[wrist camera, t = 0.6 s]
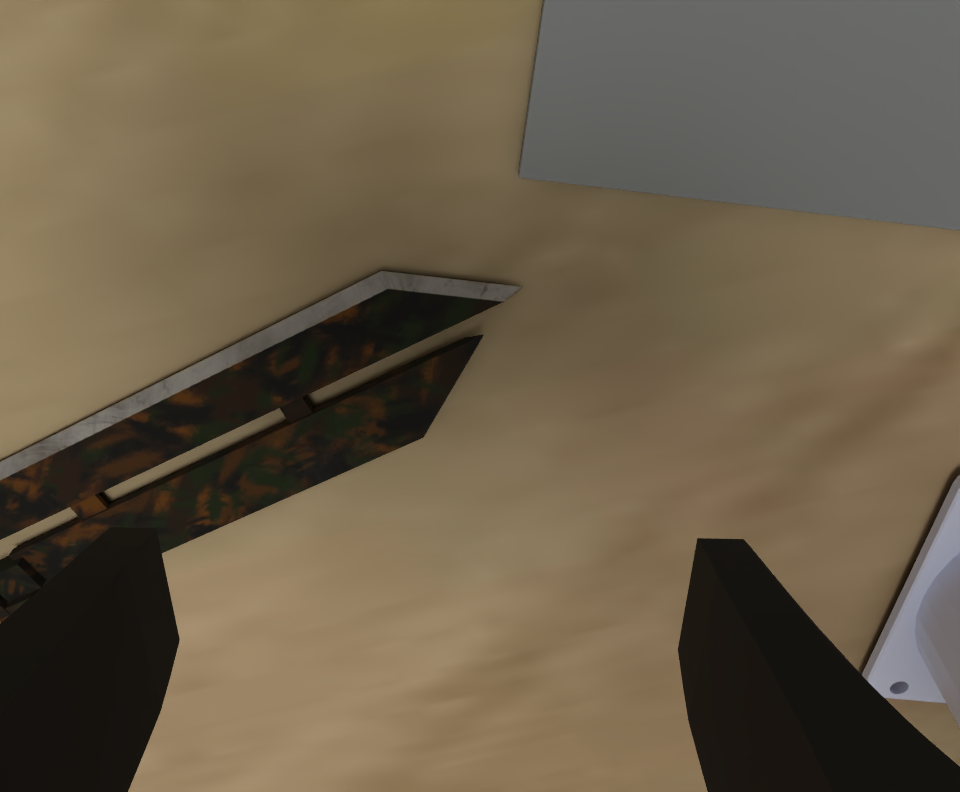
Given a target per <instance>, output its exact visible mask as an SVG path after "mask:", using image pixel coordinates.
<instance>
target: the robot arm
mask: <svg viewBox="0 0 960 792" xmlns="http://www.w3.org/2000/svg"><path fill="white" fill-rule="evenodd" d="M178 644H179V635H178V630H177V625H176V620H175V616H174V611H173V606H172V601H171V597H170V592H169V587H168V582H167V577H166V573H165V568H164V563H163V558H162V554H161V549H160V544H159V539H158V535H157V530H156V528H126V527H110V528H109V529H108V530H107V531H106V532H104V533H103V534H102V535H101V536H100V537H98V538H97V539H96V540H95V541H94V542H93V543H92V544H90V545H89V546H88V547H87V548H86V549H85V550H84V551H82V552H81V553H80V554H79V555H78V556H77V557H76V558H75V559H73V560H72V561H71V562H70V563H69V564H68V565H67V566H66V567H65V568H63V569H62V570H61V571H60V572H59V573H58V574H57V575H56V576H54V577H53V578H52V579H51V580H50V581H49V582H48V583H47V584H45V585H44V586H43V587H42V588H41V589H40V590H39V591H37V592H36V593H35V594H34V595H33V596H32V597H30V598H29V599H28V600H27V601H26V602H25V603H24V604H22V605H21V606H20V607H19V608H18V609H17V610H15V611H14V612H13V613H12V614H11V615H10V616H8V617H7V618H6V619H5V620H4V621H3V622H1V623H0V792H128V790H129V788H130V785H131V783H132V780H133V778H134V775H135V773H136V771H137V768H138V766H139V763H140V761H141V758H142V756H143V753H144V751H145V749H146V746H147V744H148V741H149V739H150V736H151V734H152V731H153V729H154V726H155V724H156V721H157V719H158V716H159V714H160V711H161V708H162V704H163V701H164V697H165V694H166V690H167V687H168V683H169V679H170V676H171V672H172V668H173V664H174V660H175V656H176V652H177V648H178ZM678 653H679V660H680V667H681V674H682V682H683V689H684V695H685V701H686V708H687V714H688V720H689V724H690V728H691V732H692V736H693V739H694V743H695V747H696V750H697V754H698V758H699V761H700V765H701V769H702V773H703V776H704V780H705V783H706V787H707V791H708V792H960V767H959V766H958V765H957V764H956V763H955V762H954V761H952V760H951V759H950V758H949V757H948V756H947V755H945V754H944V753H943V752H942V751H941V750H940V749H938V748H937V747H936V746H935V745H934V744H933V743H932V742H930V741H929V740H928V739H927V738H926V737H925V736H924V735H922V734H921V733H920V732H919V731H918V730H917V729H916V728H915V727H914V726H913V725H912V724H911V723H909V722H908V721H907V720H906V719H905V718H904V717H903V716H902V715H901V714H900V713H899V712H898V711H897V710H896V709H895V708H894V707H893V706H892V705H891V704H890V703H889V702H888V701H887V700H886V699H885V698H893V699H904V700H915V701H927V702H938V703H946V704H947V706H948V707H949V709H950V711H951V713H952V715H953V717H954V719H955V721H956V722H957V724H958V726H959V728H960V475H959V476H958V477H957V478H956V479H955V481H954V482H953V484H952V486H951V488H950V490H949V492H948V494H947V496H946V498H945V501H944V503H943V505H942V507H941V509H940V511H939V513H938V515H937V517H936V520H935V522H934V524H933V526H932V528H931V530H930V532H929V534H928V536H927V538H926V541H925V543H924V545H923V547H922V549H921V551H920V553H919V555H918V557H917V560H916V562H915V564H914V566H913V568H912V570H911V572H910V574H909V576H908V578H907V581H906V583H905V585H904V587H903V589H902V591H901V593H900V595H899V597H898V600H897V602H896V604H895V606H894V608H893V610H892V612H891V614H890V616H889V618H888V621H887V623H886V625H885V627H884V629H883V631H882V633H881V635H880V637H879V640H878V642H877V644H876V646H875V648H874V650H873V652H872V654H871V656H870V658H869V661H868V663H867V665H866V667H865V669H864V671H863V673H862V675H861V674H860V673H859V672H858V671H857V670H856V669H855V667H854V666H853V665H852V664H851V663H850V662H849V661H848V660H847V659H846V658H845V657H844V655H843V654H842V653H841V652H840V651H839V650H838V649H837V648H836V647H835V646H834V644H833V643H832V642H831V641H830V640H829V639H828V638H827V637H826V636H825V635H824V633H823V632H822V631H821V630H820V629H819V628H818V627H817V626H816V624H815V623H814V622H813V621H812V620H811V619H810V618H809V616H808V615H807V614H806V613H805V612H804V611H803V609H802V608H801V607H800V606H799V605H798V604H797V602H796V601H795V600H794V599H793V598H792V596H791V595H790V594H789V593H788V592H787V591H786V589H785V588H784V587H783V586H782V585H781V583H780V582H779V581H778V580H777V578H776V577H775V576H774V575H773V574H772V572H771V571H770V570H769V569H768V568H767V566H766V565H765V564H764V563H763V561H762V560H761V559H760V558H759V557H758V555H757V554H756V553H755V552H754V551H753V549H752V548H751V547H750V546H749V545H748V544H747V543H746V542H745V540H744V539H703V538H697V544H696V550H695V555H694V561H693V567H692V572H691V578H690V584H689V590H688V595H687V601H686V607H685V612H684V618H683V624H682V630H681V635H680V641H679V647H678ZM896 682H897V683H896Z"/></svg>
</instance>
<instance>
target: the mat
mask: <svg viewBox="0 0 960 792" xmlns="http://www.w3.org/2000/svg"><path fill="white" fill-rule="evenodd" d="M518 172H519V178H526V179H534V180H543V181H551V182H559V183H568V184H576V185H584V186H593V187H601V188H609V189H618V190H626V191H634V192H643V193H651V194H659V195H668V196H676V197H684V198H693V199H701V200H709V201H718V202H726V203H734V204H743V205H751V206H759V207H768V208H776V209H785V210H793V211H801V212H810V213H818V214H826V215H835V216H843V217H851V218H860V219H868V220H876V221H885V222H893V223H901V224H910V225H918V226H926V227H935V228H943V229H951V230H960V0H543V5H542V12H541V19H540V26H539V33H538V39H537V46H536V53H535V60H534V67H533V74H532V81H531V88H530V95H529V102H528V109H527V116H526V123H525V130H524V137H523V144H522V151H521V158H520V165H519V171H518Z"/></svg>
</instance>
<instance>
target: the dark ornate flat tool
mask: <svg viewBox="0 0 960 792" xmlns="http://www.w3.org/2000/svg"><path fill="white" fill-rule="evenodd" d="M521 288H522V287H520V286H511V285H503V284H494V283H485V282H476V281H467V280H458V279H449V278H440V277H432V276H423V275H414V274H405V273H396V272H387V271H380V272H378V273H376V274H374V275H372V276H370V277H368V278H366V279H364V280H362V281H360V282H358V283H356V284H354V285H352V286H350V287H348V288H346V289H344V290H342V291H340V292H338V293H336V294H334V295H332V296H330V297H328V298H326V299H324V300H322V301H320V302H318V303H316V304H314V305H312V306H310V307H308V308H306V309H304V310H302V311H300V312H298V313H296V314H294V315H292V316H290V317H288V318H286V319H284V320H282V321H280V322H278V323H276V324H274V325H272V326H270V327H268V328H266V329H264V330H262V331H260V332H258V333H256V334H254V335H252V336H250V337H248V338H246V339H244V340H242V341H240V342H238V343H236V344H234V345H232V346H230V347H228V348H226V349H224V350H222V351H220V352H218V353H216V354H214V355H212V356H210V357H208V358H206V359H204V360H202V361H200V362H198V363H196V364H194V365H192V366H190V367H188V368H186V369H184V370H182V371H180V372H178V373H176V374H174V375H172V376H170V377H168V378H166V379H164V380H162V381H160V382H158V383H156V384H154V385H152V386H150V387H148V388H146V389H144V390H142V391H140V392H138V393H136V394H134V395H132V396H130V397H128V398H126V399H124V400H122V401H120V402H118V403H116V404H114V405H112V406H110V407H108V408H106V409H104V410H102V411H100V412H98V413H96V414H94V415H93V416H91V417H89V418H87V419H85V420H83V421H81V422H79V423H77V424H75V425H73V426H71V427H69V428H67V429H65V430H63V431H61V432H59V433H57V434H55V435H53V436H51V437H49V438H47V439H45V440H43V441H41V442H39V443H37V444H35V445H33V446H31V447H29V448H27V449H25V450H23V451H21V452H19V453H17V454H15V455H13V456H11V457H9V458H7V459H5V460H3V461H1V462H0V540H1V539H3V538H5V537H7V536H9V535H11V534H14V533H16V532H18V531H20V530H22V529H24V528H26V527H28V526H30V525H33V524H35V523H37V522H39V521H41V520H43V519H45V518H47V517H49V516H52V515H54V514H56V513H58V512H60V511H62V510H64V509H66V508H68V507H71V509H72V510H73V511H74V512H75V513H76V514H77V515H78V516H79V517H80V518H78V519H76V520H74V521H72V522H70V523H67V524H65V525H63V526H61V527H59V528H57V529H55V530H52V531H50V532H48V533H46V534H44V535H42V536H40V537H38V538H35V539H33V540H31V541H29V542H27V543H25V544H23V545H20V546H18V547H16V548H14V549H13V550H12V552H11V553H10V555H9V556H7V557H5V558H3V559H1V560H0V622H3V621H4V620H5V619H6V618H7V617H8V616H10V615H11V614H12V613H13V612H14V611H15V610H17V609H18V608H19V607H20V606H21V605H22V604H24V603H25V602H26V601H27V600H28V599H29V598H30V597H32V596H33V595H34V594H35V593H36V592H37V591H39V590H40V589H41V588H42V587H43V586H44V585H45V584H47V583H48V582H49V581H50V580H51V579H52V578H53V577H54V576H56V575H57V574H58V573H59V572H60V571H61V570H62V569H63V568H65V567H66V566H67V565H68V564H69V563H70V562H71V561H72V560H73V559H75V558H76V557H77V556H78V555H79V554H80V553H81V552H82V551H84V550H85V549H86V548H87V547H88V546H89V545H90V544H92V543H93V542H94V541H95V540H96V539H97V538H98V537H100V536H101V535H102V534H103V533H104V532H106V531H107V530H108V529H109V528H110V527H126V528H156V530H157V535H158V539H159V544H160V549H161V553H163V552H166V551H168V550H170V549H172V548H175V547H177V546H179V545H181V544H184V543H186V542H188V541H190V540H193V539H195V538H197V537H200V536H202V535H204V534H206V533H209V532H211V531H213V530H215V529H218V528H220V527H222V526H224V525H227V524H229V523H231V522H233V521H236V520H238V519H240V518H242V517H245V516H247V515H249V514H251V513H254V512H256V511H258V510H261V509H263V508H265V507H267V506H270V505H272V504H274V503H276V502H279V501H281V500H283V499H285V498H288V497H290V496H292V495H294V494H297V493H299V492H301V491H303V490H306V489H308V488H310V487H312V486H315V485H317V484H319V483H321V482H324V481H326V480H328V479H331V478H333V477H335V476H337V475H340V474H342V473H344V472H346V471H349V470H351V469H353V468H355V467H358V466H360V465H362V464H364V463H367V462H369V461H371V460H373V459H376V458H378V457H380V456H382V455H385V454H387V453H389V452H391V451H394V450H396V449H398V448H401V447H403V446H405V445H407V444H410V443H412V442H414V441H416V440H419V439H421V438H423V437H424V435H425V434H426V432H427V430H428V429H429V427H430V425H431V424H432V422H433V420H434V419H435V417H436V415H437V413H438V412H439V410H440V408H441V407H442V405H443V403H444V402H445V400H446V398H447V396H448V395H449V393H450V391H451V390H452V388H453V386H454V385H455V383H456V381H457V380H458V378H459V376H460V374H461V373H462V371H463V369H464V368H465V366H466V364H467V363H468V361H469V359H470V357H471V356H472V354H473V352H474V351H475V349H476V347H477V346H478V344H479V342H480V341H481V339H482V337H483V335H478V336H472V337H465V338H463V339H461V340H459V341H457V342H455V343H452V344H450V345H448V346H446V347H444V348H442V349H440V350H437V351H435V352H433V353H431V354H429V355H427V356H425V357H422V358H420V359H418V360H416V361H414V362H412V363H410V364H407V365H405V366H403V367H401V368H399V369H397V370H395V371H392V372H390V373H388V374H386V375H384V376H382V377H380V378H378V379H375V380H373V381H371V382H369V383H367V384H365V385H363V386H360V387H358V388H356V389H354V390H352V391H350V392H348V393H345V394H343V395H341V396H339V397H337V398H335V399H333V400H330V401H328V402H326V403H324V404H322V405H320V406H318V407H316V408H313V409H312V407H311V406H310V404H309V403H308V401H307V400H306V398H305V397H304V396H305V395H307V394H309V393H312V392H314V391H316V390H318V389H320V388H322V387H324V386H326V385H329V384H331V383H333V382H335V381H337V380H339V379H341V378H343V377H345V376H348V375H350V374H352V373H354V372H356V371H358V370H360V369H362V368H364V367H367V366H369V365H371V364H373V363H375V362H377V361H379V360H381V359H383V358H386V357H388V356H390V355H392V354H394V353H396V352H398V351H400V350H402V349H405V348H407V347H409V346H411V345H413V344H415V343H417V342H419V341H422V340H424V339H426V338H428V337H430V336H432V335H434V334H436V333H438V332H441V331H443V330H445V329H447V328H449V327H451V326H453V325H455V324H457V323H460V322H462V321H464V320H466V319H468V318H470V317H472V316H474V315H476V314H479V313H481V312H483V311H485V310H487V309H489V308H491V307H493V306H496V305H498V304H500V303H502V302H504V301H505V300H506V299H508V298H509V297H510V296H512V295H513V294H514V293H516V292H517V291H518V290H519V289H521ZM278 408H280V409H281V411H282V412H283V414H284V415H285V416H286V418H287V419H288V421H286V422H283V423H281V424H279V425H277V426H275V427H273V428H271V429H268V430H266V431H264V432H262V433H260V434H258V435H256V436H254V437H251V438H249V439H247V440H245V441H243V442H241V443H239V444H236V445H234V446H232V447H230V448H228V449H226V450H224V451H221V452H219V453H217V454H215V455H213V456H211V457H209V458H206V459H204V460H202V461H200V462H198V463H196V464H194V465H191V466H189V467H187V468H185V469H183V470H181V471H179V472H177V473H174V474H172V475H170V476H168V477H166V478H164V479H162V480H159V481H157V482H155V483H153V484H151V485H149V486H147V487H144V488H142V489H140V490H138V491H136V492H134V493H132V494H129V495H127V496H125V497H123V498H121V499H119V500H117V501H115V502H112V503H110V504H107V503H106V502H105V500H104V499H103V498H102V497H101V496H100V495H99V494H98V493H100V492H102V491H104V490H107V489H109V488H111V487H113V486H115V485H117V484H119V483H121V482H123V481H126V480H128V479H130V478H132V477H134V476H136V475H138V474H140V473H142V472H145V471H147V470H149V469H151V468H153V467H155V466H157V465H159V464H161V463H164V462H166V461H168V460H170V459H172V458H174V457H176V456H178V455H181V454H183V453H185V452H187V451H189V450H191V449H193V448H195V447H197V446H200V445H202V444H204V443H206V442H208V441H210V440H212V439H214V438H216V437H219V436H221V435H223V434H225V433H227V432H229V431H231V430H233V429H235V428H238V427H240V426H242V425H244V424H246V423H248V422H250V421H252V420H255V419H257V418H259V417H261V416H263V415H265V414H267V413H269V412H271V411H274V410H276V409H278Z"/></svg>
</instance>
